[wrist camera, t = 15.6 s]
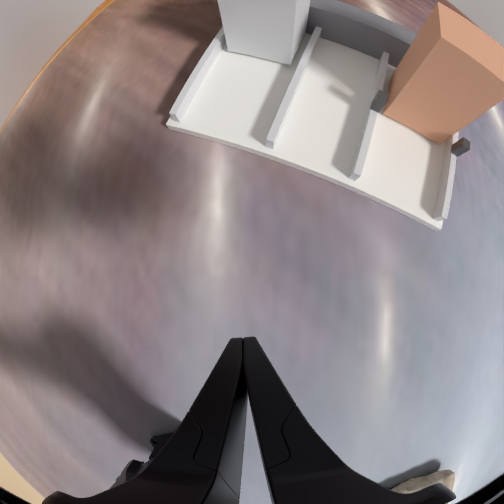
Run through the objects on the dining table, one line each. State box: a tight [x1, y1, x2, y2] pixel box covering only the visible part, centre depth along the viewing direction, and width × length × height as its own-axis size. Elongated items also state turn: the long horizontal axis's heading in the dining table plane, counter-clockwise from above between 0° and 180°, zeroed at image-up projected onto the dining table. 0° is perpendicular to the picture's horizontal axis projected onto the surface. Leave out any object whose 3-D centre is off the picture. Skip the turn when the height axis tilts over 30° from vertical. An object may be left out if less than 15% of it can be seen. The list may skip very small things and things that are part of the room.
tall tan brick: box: [383, 2, 504, 145], centre depth 15 cm, size 5×6×11 cm
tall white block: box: [218, 0, 310, 66], centre depth 16 cm, size 5×6×11 cm
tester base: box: [166, 0, 470, 231], centre depth 20 cm, size 17×25×5 cm
